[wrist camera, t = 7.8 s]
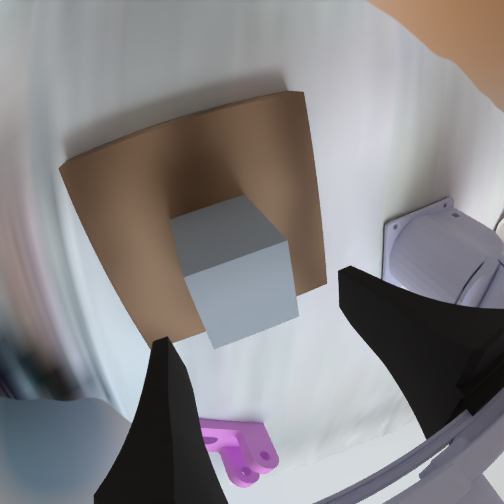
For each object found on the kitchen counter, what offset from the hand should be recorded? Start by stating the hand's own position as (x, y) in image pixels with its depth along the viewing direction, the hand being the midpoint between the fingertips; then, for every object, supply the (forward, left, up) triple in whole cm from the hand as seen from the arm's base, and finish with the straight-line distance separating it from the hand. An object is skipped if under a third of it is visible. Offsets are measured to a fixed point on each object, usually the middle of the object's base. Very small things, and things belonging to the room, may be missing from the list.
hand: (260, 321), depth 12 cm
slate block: (0, 0, -8) cm, 8 cm away
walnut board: (0, 0, -10) cm, 10 cm away
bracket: (+8, +25, -10) cm, 28 cm away
